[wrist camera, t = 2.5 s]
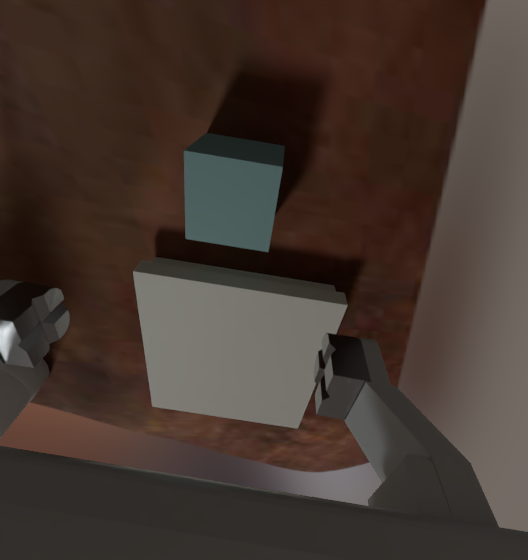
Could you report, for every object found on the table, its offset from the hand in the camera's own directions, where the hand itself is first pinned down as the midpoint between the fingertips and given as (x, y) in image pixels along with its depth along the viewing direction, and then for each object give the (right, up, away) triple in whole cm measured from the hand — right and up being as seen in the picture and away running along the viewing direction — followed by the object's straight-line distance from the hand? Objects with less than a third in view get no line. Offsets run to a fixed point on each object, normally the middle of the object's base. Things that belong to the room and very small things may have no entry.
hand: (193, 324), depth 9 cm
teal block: (+1, +8, +11) cm, 14 cm away
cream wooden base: (0, -5, +20) cm, 21 cm away
